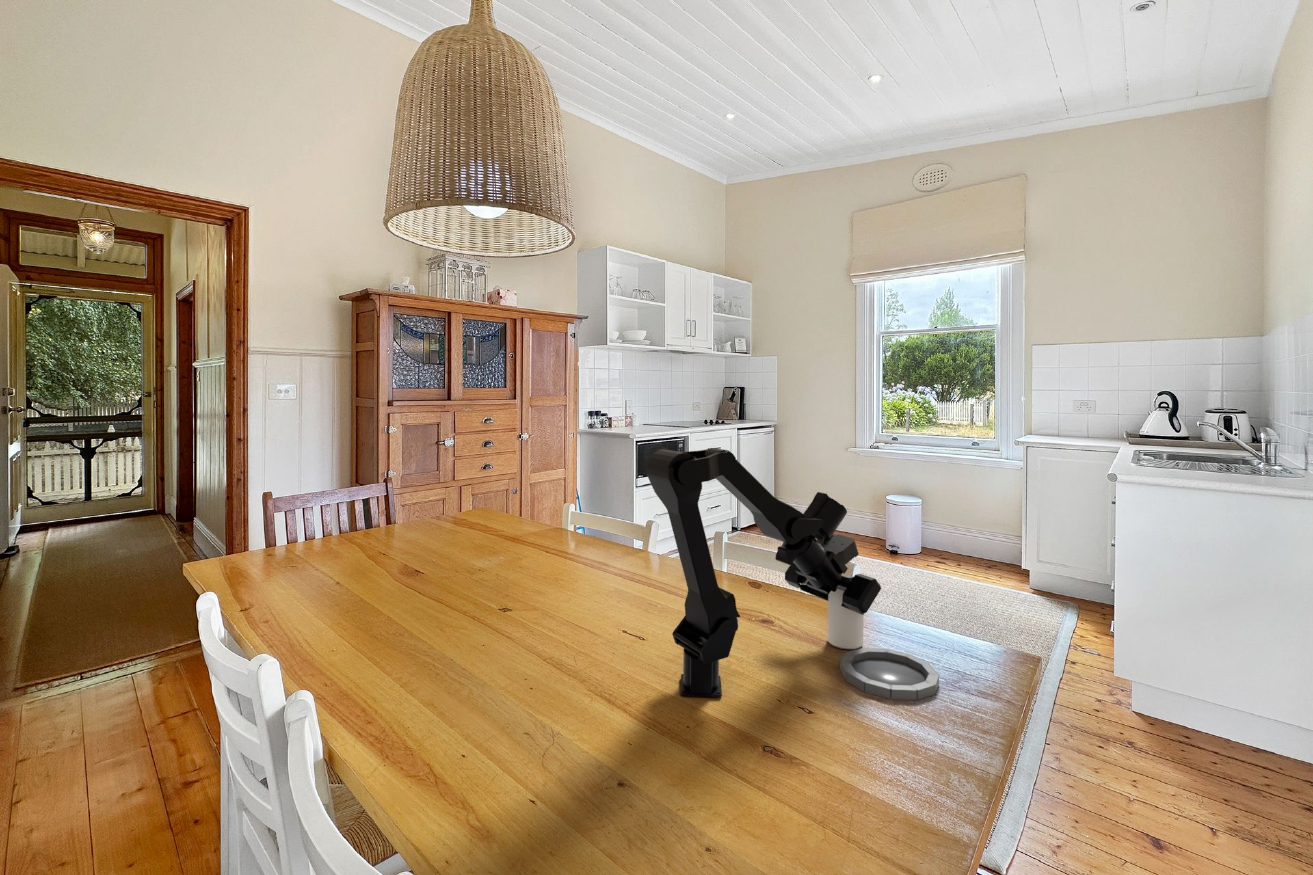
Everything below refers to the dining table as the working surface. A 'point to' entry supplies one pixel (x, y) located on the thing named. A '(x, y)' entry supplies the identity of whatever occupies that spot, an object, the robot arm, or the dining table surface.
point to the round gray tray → (889, 673)
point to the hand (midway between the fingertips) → (850, 607)
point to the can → (843, 623)
